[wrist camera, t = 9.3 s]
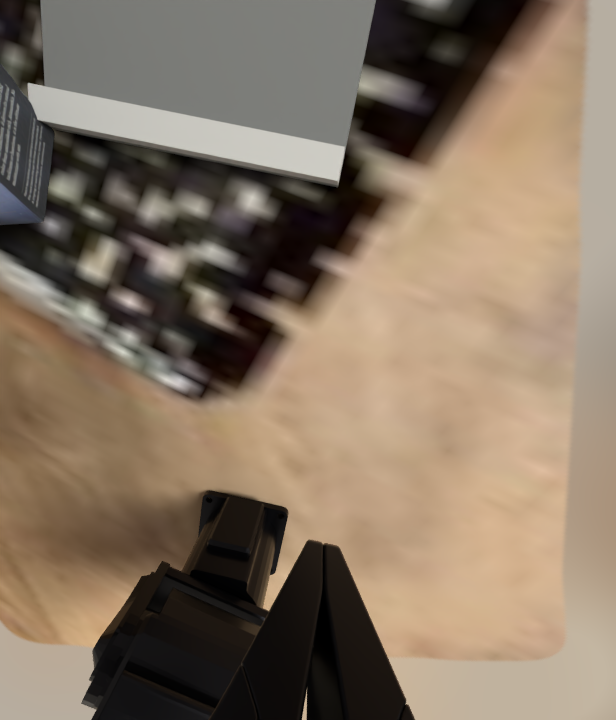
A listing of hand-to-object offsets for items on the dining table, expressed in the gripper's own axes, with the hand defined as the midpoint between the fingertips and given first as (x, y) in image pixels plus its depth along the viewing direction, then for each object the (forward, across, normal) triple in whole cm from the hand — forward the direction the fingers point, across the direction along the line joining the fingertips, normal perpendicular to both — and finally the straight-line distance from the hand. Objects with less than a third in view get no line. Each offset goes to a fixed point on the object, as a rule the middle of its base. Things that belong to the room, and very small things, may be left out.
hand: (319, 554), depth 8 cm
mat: (+13, +10, -16) cm, 23 cm away
